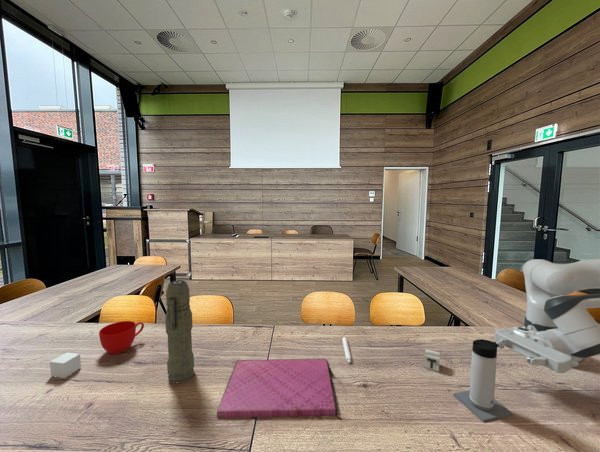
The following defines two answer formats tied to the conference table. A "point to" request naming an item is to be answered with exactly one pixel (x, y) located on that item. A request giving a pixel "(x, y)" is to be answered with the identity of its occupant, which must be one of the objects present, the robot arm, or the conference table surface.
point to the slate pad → (496, 413)
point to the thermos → (179, 332)
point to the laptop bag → (279, 389)
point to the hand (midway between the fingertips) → (512, 352)
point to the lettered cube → (432, 360)
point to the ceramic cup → (118, 336)
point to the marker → (346, 350)
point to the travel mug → (483, 374)
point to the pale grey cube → (65, 365)
